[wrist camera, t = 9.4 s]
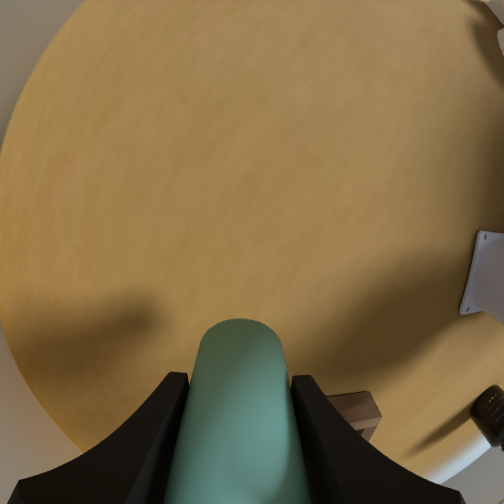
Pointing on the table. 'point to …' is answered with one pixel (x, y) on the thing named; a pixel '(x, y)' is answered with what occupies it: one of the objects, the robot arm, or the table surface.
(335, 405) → the square wooden box
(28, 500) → the robot arm
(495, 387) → the supplement bottle
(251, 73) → the table surface
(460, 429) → the table surface
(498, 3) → the toilet paper
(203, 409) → the dowel
